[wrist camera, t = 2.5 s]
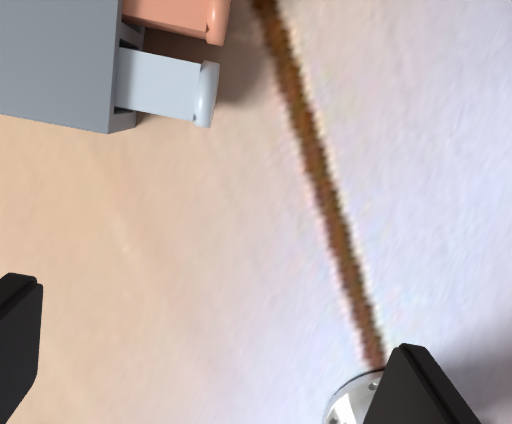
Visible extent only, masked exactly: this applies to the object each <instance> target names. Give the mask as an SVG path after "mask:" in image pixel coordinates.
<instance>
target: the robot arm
mask: <svg viewBox="0 0 512 424" xmlns="http://www.w3.org/2000/svg"><path fill="white" fill-rule="evenodd" d="M42 300H43V285H42V284H39V283H37V279H36V278H35V277H34V276H28V275H22V274H17V273H8V274H6V275H5V276H3V277H2V278H1V279H0V424H6V422H7V421H8V419H9V418H10V417H11V415H12V414H13V412H14V411H15V409H16V408H17V407H18V405H19V404H20V402H21V401H22V400H23V398H24V397H25V395H26V394H27V392H28V391H29V390H30V388H31V387H32V385H33V383H34V381H35V378H36V375H37V370H38V356H39V342H40V328H41V314H42ZM322 424H481V423H480V421H479V420H478V418H477V417H476V416H475V414H474V413H473V412H472V410H471V409H470V408H469V406H468V405H467V403H466V402H465V401H464V399H463V398H462V397H461V395H460V394H459V392H458V391H457V390H456V388H455V387H454V386H453V384H452V383H451V381H450V380H449V379H448V377H447V376H446V375H445V373H444V372H443V371H442V369H441V368H440V366H439V365H438V364H437V362H436V361H435V360H434V358H433V357H432V355H431V354H430V353H429V351H428V350H427V349H426V348H425V347H423V346H418V345H412V344H407V343H402V344H401V345H400V346H399V347H396V348H394V349H393V351H392V353H391V355H390V358H389V360H388V363H387V365H386V367H385V370H384V371H380V372H375V373H370V374H367V375H364V376H361V377H359V378H357V379H355V380H353V381H351V382H349V383H348V384H347V385H345V386H344V387H343V388H341V389H340V390H339V391H338V392H337V393H336V394H335V395H334V396H333V397H332V399H331V401H330V402H329V404H328V405H327V407H326V410H325V413H324V415H323V423H322Z"/></svg>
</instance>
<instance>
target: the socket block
mask: <svg viewBox="0 0 512 424" xmlns="http://www.w3.org/2000/svg"><path fill="white" fill-rule="evenodd" d="M122 2H123V0H0V114H2V115H8V116H13V117H18V118H24V119H29V120H34V121H40V122H45V123H50V124H56V125H61V126H66V127H71V128H77V129H82V130H87V131H93V132H98V133H103V134H111V133H115V132H119V131H123V130H127V129H131V128H135V126H136V115H137V110H132V109H126V108H121V107H116V106H114V102H115V89H116V77H117V65H118V52H119V47H121V48H126V49H131V50H136V51H141V52H143V44H144V34H145V27H144V26H139V25H135V24H130V23H125V22H121V15H122Z"/></svg>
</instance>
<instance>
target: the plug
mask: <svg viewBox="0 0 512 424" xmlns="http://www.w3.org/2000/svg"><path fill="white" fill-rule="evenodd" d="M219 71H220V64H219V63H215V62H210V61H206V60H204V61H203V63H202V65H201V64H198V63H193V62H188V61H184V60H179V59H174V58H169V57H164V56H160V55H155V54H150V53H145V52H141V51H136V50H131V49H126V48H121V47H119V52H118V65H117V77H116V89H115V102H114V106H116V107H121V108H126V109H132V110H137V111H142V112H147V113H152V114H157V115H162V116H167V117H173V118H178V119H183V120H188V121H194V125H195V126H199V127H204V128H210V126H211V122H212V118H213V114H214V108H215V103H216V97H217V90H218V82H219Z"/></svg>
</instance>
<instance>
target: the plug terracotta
mask: <svg viewBox="0 0 512 424" xmlns="http://www.w3.org/2000/svg"><path fill="white" fill-rule="evenodd" d="M230 6H231V0H123V2H122V15H121V22H125V23H130V24H135V25H139V26H144V27H149V28H153V29H158V30H163V31H167V32H172V33H177V34H181V35H186V36H191V37H195V38H200V39H205V40H207V43H208V44H213V45H218V46H223V44H224V40H225V36H226V31H227V25H228V19H229V13H230Z"/></svg>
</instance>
